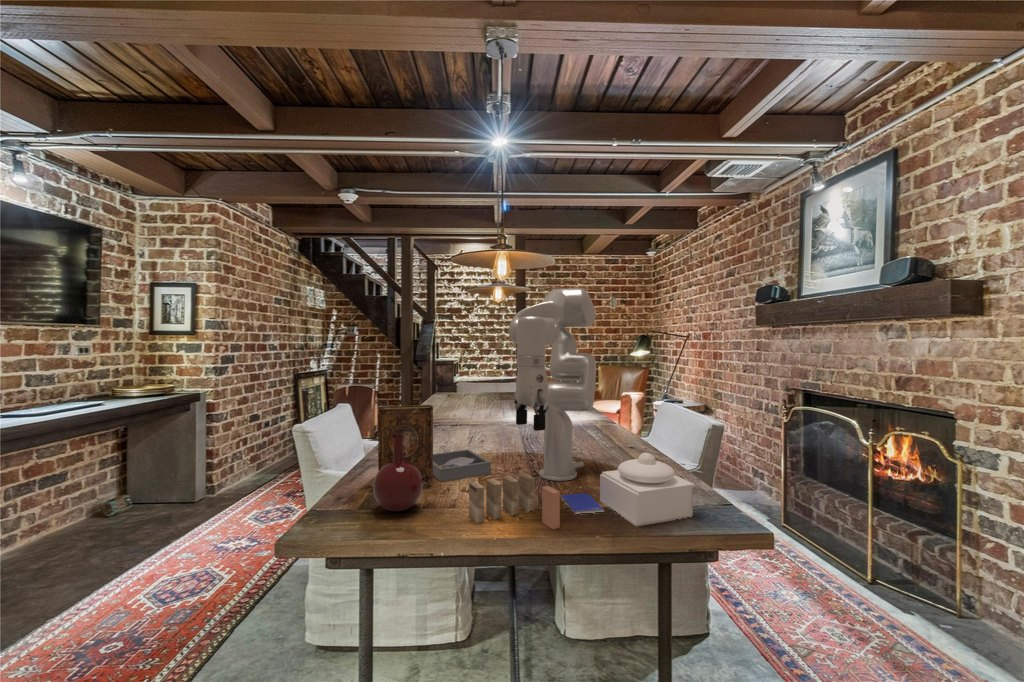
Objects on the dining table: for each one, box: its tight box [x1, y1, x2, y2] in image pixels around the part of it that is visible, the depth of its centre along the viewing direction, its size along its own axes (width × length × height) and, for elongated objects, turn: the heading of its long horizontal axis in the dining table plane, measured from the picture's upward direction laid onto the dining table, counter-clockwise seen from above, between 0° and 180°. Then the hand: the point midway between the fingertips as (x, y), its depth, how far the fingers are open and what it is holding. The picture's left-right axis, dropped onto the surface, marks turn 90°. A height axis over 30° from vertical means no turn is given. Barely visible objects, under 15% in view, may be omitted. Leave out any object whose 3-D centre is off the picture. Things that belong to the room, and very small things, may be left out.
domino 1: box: [468, 481, 485, 525], centre depth 119 cm, size 2×5×9 cm, turn 29°
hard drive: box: [561, 493, 605, 515], centre depth 129 cm, size 2×8×12 cm
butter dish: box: [599, 452, 696, 527], centre depth 126 cm, size 18×18×16 cm
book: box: [377, 404, 434, 489], centre depth 144 cm, size 16×6×25 cm, turn 102°
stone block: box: [441, 457, 475, 468], centre depth 161 cm, size 12×5×10 cm
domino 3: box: [502, 475, 519, 517], centre depth 124 cm, size 2×5×9 cm, turn 28°
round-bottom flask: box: [372, 435, 424, 512], centre depth 126 cm, size 13×13×20 cm
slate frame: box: [433, 449, 492, 483], centre depth 161 cm, size 18×19×4 cm
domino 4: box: [518, 472, 536, 513], centre depth 126 cm, size 2×5×9 cm, turn 29°
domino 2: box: [485, 478, 503, 521], centre depth 122 cm, size 2×5×9 cm, turn 29°
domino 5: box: [541, 485, 561, 530], centre depth 116 cm, size 2×5×9 cm, turn 28°
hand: (530, 427), depth 123 cm, fingers open, 9 cm apart
